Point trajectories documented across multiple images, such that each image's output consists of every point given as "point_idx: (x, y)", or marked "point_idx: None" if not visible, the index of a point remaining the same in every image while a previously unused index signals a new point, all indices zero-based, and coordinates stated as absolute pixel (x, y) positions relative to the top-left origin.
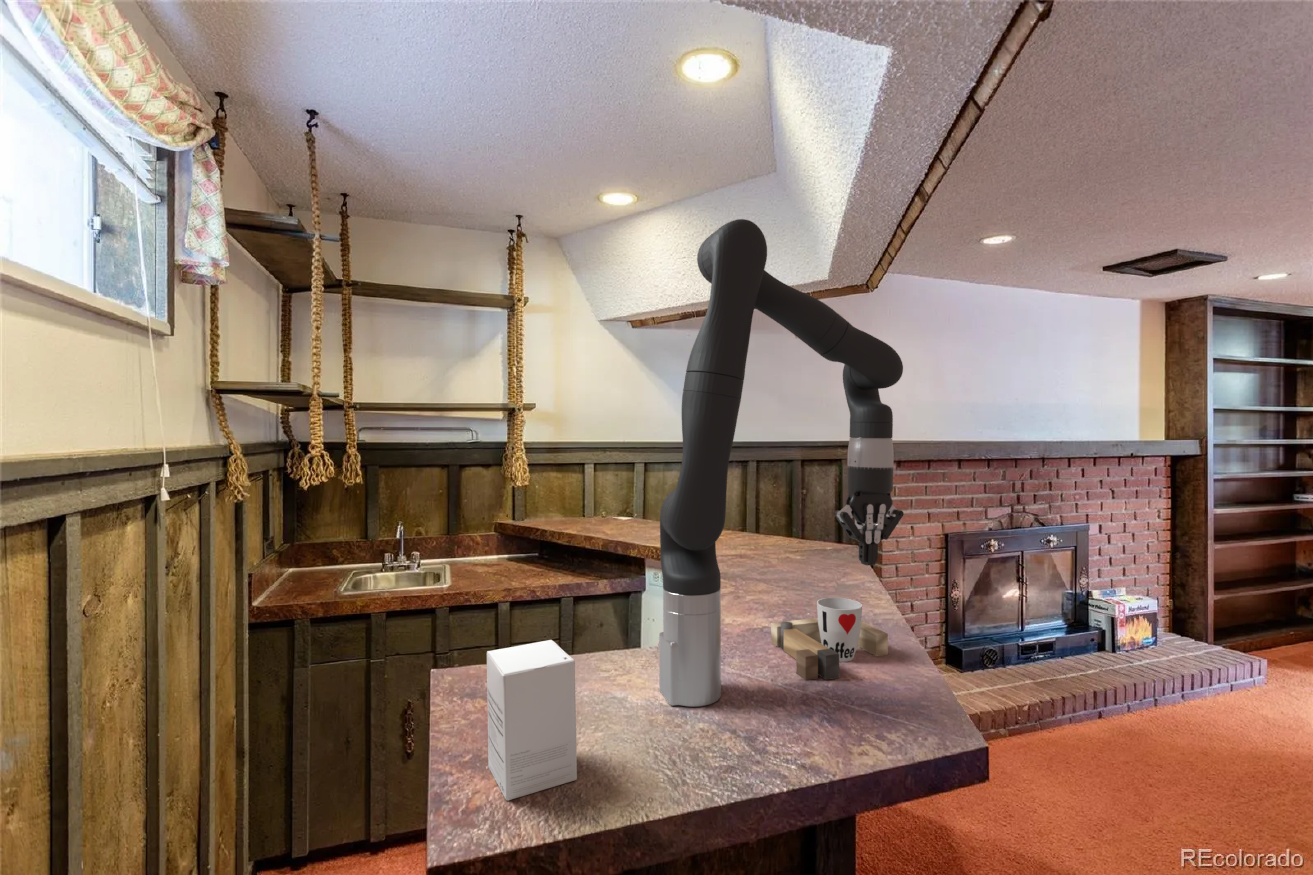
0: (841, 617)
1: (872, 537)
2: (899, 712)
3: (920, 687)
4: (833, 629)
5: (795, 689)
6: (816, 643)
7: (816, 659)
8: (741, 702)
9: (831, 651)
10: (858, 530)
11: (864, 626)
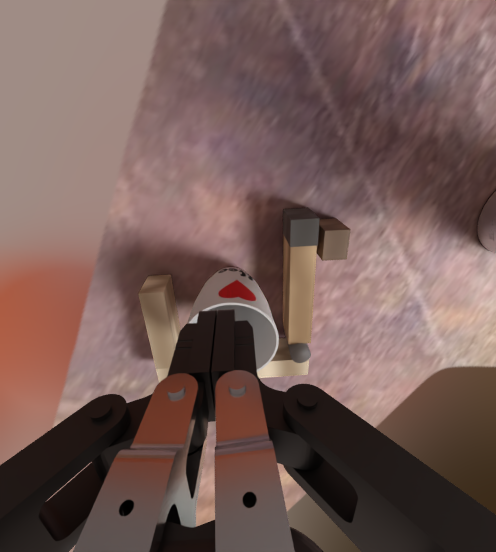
0: (251, 298)
1: (195, 415)
2: (267, 46)
3: (166, 137)
4: (260, 293)
5: (371, 190)
6: (297, 276)
7: (325, 228)
8: (476, 169)
9: (297, 233)
10: (332, 444)
11: (162, 332)
